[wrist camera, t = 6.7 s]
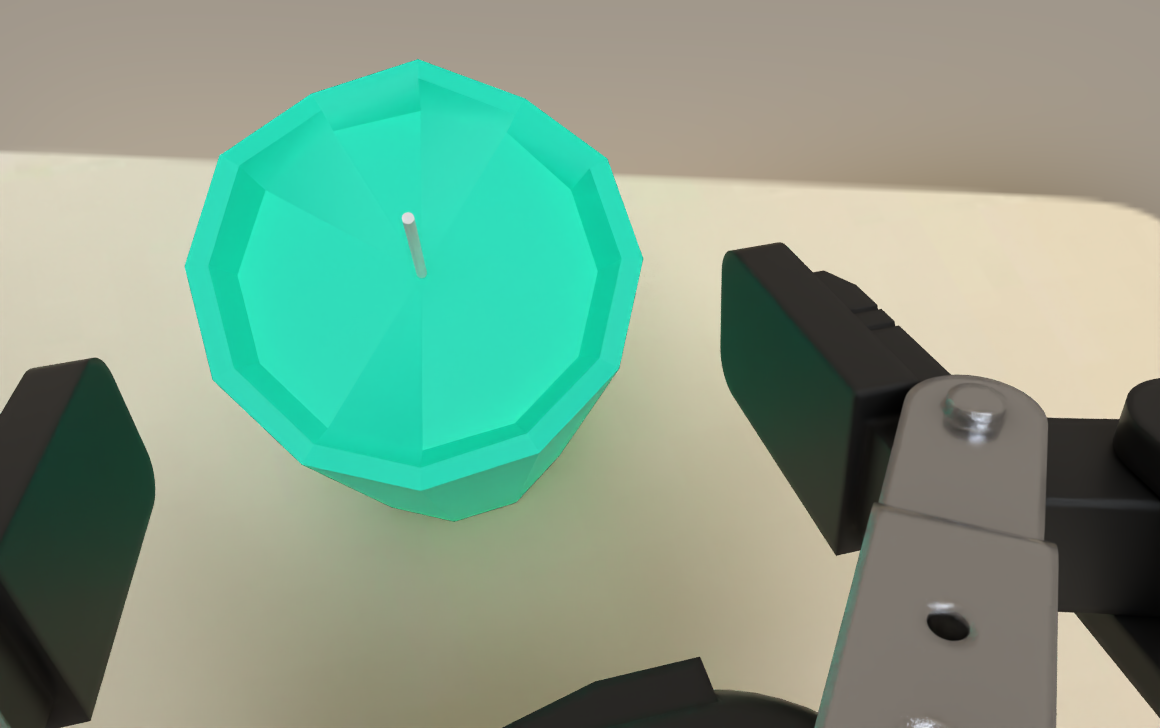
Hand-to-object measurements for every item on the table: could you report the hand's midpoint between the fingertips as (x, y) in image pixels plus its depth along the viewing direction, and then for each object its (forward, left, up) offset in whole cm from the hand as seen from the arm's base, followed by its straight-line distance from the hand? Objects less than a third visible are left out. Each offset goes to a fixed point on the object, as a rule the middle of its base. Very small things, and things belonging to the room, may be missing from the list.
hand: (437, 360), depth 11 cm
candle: (-1, 0, -10) cm, 10 cm away
